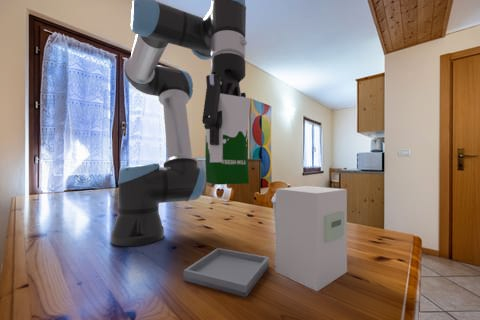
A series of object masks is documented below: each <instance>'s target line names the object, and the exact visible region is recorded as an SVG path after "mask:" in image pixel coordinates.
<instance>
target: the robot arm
mask: <svg viewBox="0 0 480 320" xmlns="http://www.w3.org/2000/svg"><path fill="white" fill-rule="evenodd" d="M210 3H211V4H210V5H211V6H210V9H209V11H208V12H207V13H206V15H205V16H204V17H201V16H198V15H196V14H192V13H190V12H186V11H184V10H181V9H179V8H175V7H173V6H170V5H167V4H164V3H163V2H159V1H157V0H132V3H131V11H130V14H131V15H130V28H131V32H132V33H134V34H136V35H135V39H134V43H133V47H132V49H131V50H132V51H131V55H130V57H129V58H128V59H127V60H126V62H125V64H124V74H125V78H126V79H127V81H128V82H129V83H130V85H131V86H132V87H133V88H134V89H136V90H137V91H139V92H140V93H143V94H146V95H150V96H154V97H155V96H156V97H158V102H159V103H160V104H161V105H162V106H163V116H164V117H163V118H164V119H163V120H164V128H165V129H164V131H165V142H166V143H165V145H166V155H167V158H166V159H167V160H166V161H164V162H163V167H161V166H160V164H159V163H158V162H154V163H153V162H152V163H143V164H135V165H134V164H133V165H127V166H122V167H121V168H120V169H119V172H118V181H117V184H118V196H117V197H118V198H117V200H118V203H117V217H116V220H115V222H114V226H113V230H112V232H111V234H110V243H111V244H112V245H114V246H117V247H137V246H139V247H140V246H145V245H149V244H152V243H156V242H158V241H160V240H162V239H163V238H164V236H165V228H164V226H163V223H162V220H161V219H162V218H161V216H160V212H159V210H160V209H159V207H160V206H159V205H160V204H163V203H176V202H178V203H179V202H190V201H196V200H198V199H199V198H200V197H201V196H202V195H203V192H204V190H205V186H206V185H205V184H206V171H205V170H204V168H203V167H201V166H198V160H197V159H196V158H194V157H193V154H192V147H191V146H192V144H191V137H190V136H191V135H190V128H189V119H188V118H189V117H188V111H187V104H188V103H189V101H190V100H191V99H192V96H193V91H194V89H193V88H194V83H193V79H192V76H191V75H190V73H189V72H188V71H186V70H183V69H180V68H172V67H167V66H164V65H158V64H159V62H160V60H161V58H162V56H163V54H164V53H165V50H166V49H167V47H168V45H169V44H170V45H174V46H178V47H182V48H186V49H190V50H191V52H192V54H193V55H194V56H196V57H197V58H199V59H200V60H203V61H204V60H205V61H207V60H211V61H210V74H207V75H206V76H205V77H206V78H205V79H206V90H205V98H204V105H203V111H202V120H201V121H202V124H203V125H204V126H203V127H204V129H205V130H206V129H210V162H223V129H219V128H221V125H222V111H218V105H219V97H220V93H221V94H227V95H233V96H239V97H245V98H247V97H246V92H241V87H240V82H241V81H243V80H244V79H245V77H246V60H245V59H246V46H247V44H248V42H247V40H246V25H247V24H246V23H247V22H246V20H247V19H246V18H247V17H246V16H247V13H246V12H247V6H246V0H210ZM209 116H210V117H209Z"/></svg>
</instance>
